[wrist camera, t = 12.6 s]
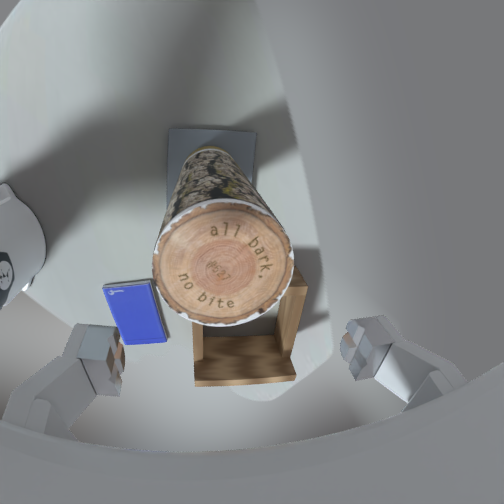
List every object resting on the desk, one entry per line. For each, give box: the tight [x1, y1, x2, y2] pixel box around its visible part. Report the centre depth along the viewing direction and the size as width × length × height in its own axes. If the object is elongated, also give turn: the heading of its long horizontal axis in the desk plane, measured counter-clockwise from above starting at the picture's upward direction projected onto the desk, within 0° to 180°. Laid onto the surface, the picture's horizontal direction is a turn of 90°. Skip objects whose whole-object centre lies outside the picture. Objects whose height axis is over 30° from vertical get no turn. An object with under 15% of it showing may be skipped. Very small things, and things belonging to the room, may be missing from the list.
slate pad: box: [167, 128, 257, 208], centre depth 36 cm, size 11×11×1 cm
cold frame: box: [192, 266, 308, 387], centre depth 43 cm, size 16×16×10 cm
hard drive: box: [102, 280, 167, 345], centre depth 44 cm, size 2×8×12 cm
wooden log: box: [152, 146, 294, 327], centre depth 24 cm, size 7×7×25 cm
